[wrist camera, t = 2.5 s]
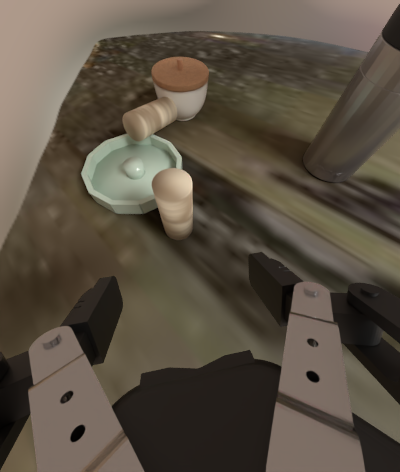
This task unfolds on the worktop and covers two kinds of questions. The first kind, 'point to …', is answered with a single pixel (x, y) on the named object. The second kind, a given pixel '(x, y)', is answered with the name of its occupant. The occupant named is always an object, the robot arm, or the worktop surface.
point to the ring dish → (128, 172)
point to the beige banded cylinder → (149, 118)
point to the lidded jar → (182, 84)
